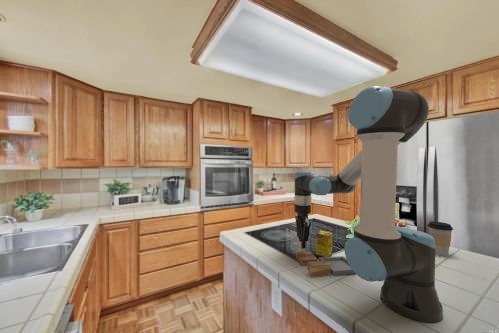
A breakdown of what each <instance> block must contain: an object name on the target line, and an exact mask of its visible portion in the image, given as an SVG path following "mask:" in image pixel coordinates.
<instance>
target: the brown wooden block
mask: <svg viewBox="0 0 499 333" xmlns="http://www.w3.org/2000/svg"><path fill="white" fill-rule="evenodd" d="M295 258H296V260H297V261H298V263H299V265H301V267H308V262H315V261H319V258H317V256H316V255H314V254H313V253H312V251H306V252H299V251H296V252H295Z"/></svg>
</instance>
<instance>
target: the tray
mask: <svg viewBox="0 0 499 333" xmlns="http://www.w3.org/2000/svg"><path fill="white" fill-rule="evenodd" d="M318 261H327V262H329V263H330V264H331V265H330V275H331V276H333V277H340V276H341V277H342V276H352V275H353V276H354V275H357V274H356V273H355V272H354V271H353V270H352V269H351V267H350V265H349V264H348V262H347V259H346V256H344V255H340V256H339V255H338V256H331V257H318Z"/></svg>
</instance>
